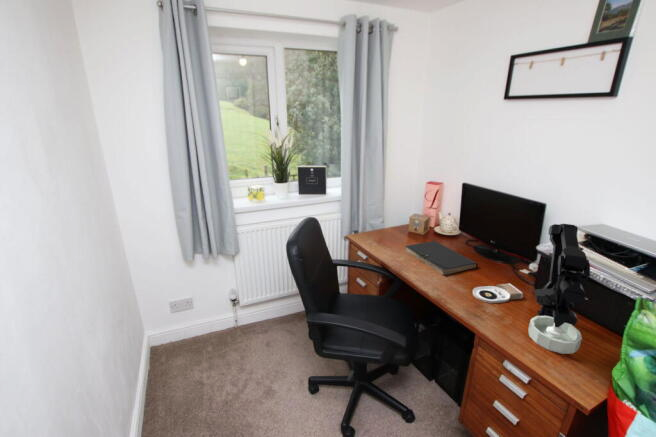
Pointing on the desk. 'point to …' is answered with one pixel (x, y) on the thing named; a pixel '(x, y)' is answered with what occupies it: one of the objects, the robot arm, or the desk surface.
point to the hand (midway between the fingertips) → (556, 325)
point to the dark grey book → (440, 257)
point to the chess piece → (554, 331)
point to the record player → (497, 293)
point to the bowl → (557, 344)
